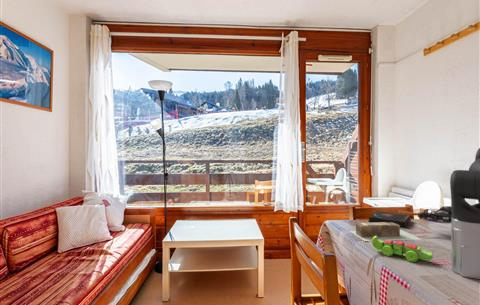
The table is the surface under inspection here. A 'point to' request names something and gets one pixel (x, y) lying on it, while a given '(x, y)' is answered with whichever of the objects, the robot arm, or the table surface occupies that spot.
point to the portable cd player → (390, 218)
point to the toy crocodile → (402, 249)
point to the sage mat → (402, 236)
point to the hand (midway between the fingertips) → (418, 215)
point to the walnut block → (378, 229)
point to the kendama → (411, 214)
